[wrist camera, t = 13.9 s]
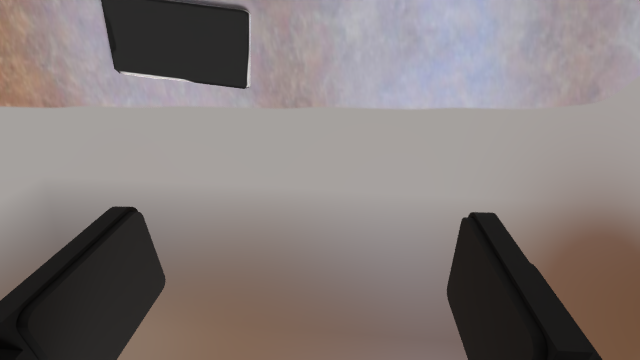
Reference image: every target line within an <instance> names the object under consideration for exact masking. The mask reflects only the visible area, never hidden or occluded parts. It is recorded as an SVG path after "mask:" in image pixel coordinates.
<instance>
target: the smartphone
mask: <svg viewBox="0 0 640 360" xmlns="http://www.w3.org/2000/svg"><path fill="white" fill-rule="evenodd" d="M101 2H102V7H103V12H104V17H105V23H106V28H107V33H108V38H109V43H110V48H111V53H112V59H113V64H114V69H115V70H117V71H118V72H119V73H122V74H126V75H136V76H139V77H147V78H148V77H149V78H155V79H170V80H178V81H186V82H194V83H202V84H210V85H218V86H226V87H234V88H242V89H245V88H248V87H250V33H251V15H250V13H249V12H248V11H246V10H243V9H235V8H227V7H219V6H211V5H203V4H195V3H187V2H179V1H171V0H101Z"/></svg>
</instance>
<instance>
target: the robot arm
mask: <svg viewBox="0 0 640 360" xmlns="http://www.w3.org/2000/svg"><path fill="white" fill-rule="evenodd" d="M164 285H165V275H164V273H163V270H162V267H161V265H160V262H159V259H158V256H157V253H156V251H155V248H154V245H153V242H152V239H151V236H150V234H149V232H148V228H147V225H146V223H145V220H144V217H143V215H142V214H141V213H140V212H138V211H137V209H136V208H134V207H112V208H110V209H109V210H107V211H106V212H105V213H104V214H103V215H101V216H100V217H99V218H98V219H97V220H95V221H94V222H93V223H92V224H91V225H90V226H88V227H87V228H86V229H85V230H84V231H83V232H81V233H80V234H79V235H78V236H77V237H75V238H74V239H73V240H72V241H71V242H69V243H68V244H67V245H66V246H65V247H64V248H62V249H61V250H60V251H59V252H58V253H56V254H55V255H54V256H53V257H52V258H51V259H49V260H48V261H47V262H46V263H44V264H43V265H42V266H41V267H40V268H39V269H38V270H36V271H35V272H34V273H33V274H31V275H30V276H29V277H28V278H27V279H26V280H24V281H23V282H22V283H21V284H20V285H18V286H17V287H16V288H15V289H14V290H13V291H11V292H10V293H9V294H8V295H7V296H5V297H4V298H3V299H2V300H1V301H0V360H117V358H118V357H119V355H120V354H121V352H122V351H123V349H124V348H125V346H126V345H127V343H128V342H129V340H130V339H131V337H132V336H133V334H134V332H135V331H136V329H137V328H138V326H139V325H140V323H141V322H142V320H143V319H144V317H145V316H146V314H147V313H148V311H149V309H150V308H151V307H152V305H153V303H154V302H155V300H156V299H157V298H158V296H159V295H160V293H161V292H162V290H163V288H164ZM447 297H448V301H449V304H450V307H451V310H452V313H453V316H454V319H455V322H456V325H457V328H458V331H459V334H460V337H461V340H462V342H463V346H464V349H465V351H466V355H467V358H468V360H602V358H601V357H600V356H599V354H598V353H597V351H596V350H595V349H594V347H593V346H592V345H591V343H590V342H589V340H588V339H587V338H586V336H585V335H584V333H583V332H582V331H581V329H580V328H579V326H578V325H577V324H576V322H575V321H574V319H573V318H572V317H571V315H570V314H569V312H568V311H567V310H566V308H565V307H564V305H563V304H562V303H561V301H560V300H559V298H558V297H557V296H556V294H555V293H554V292H553V290H552V289H551V287H550V286H549V285H548V283H547V282H546V280H545V279H544V278H543V276H542V275H541V273H540V272H539V271H538V269H537V268H536V267H535V266H534V265H533V264H531V263H530V262H529V261H528V259H527V258H526V257H525V255H524V254H523V252H522V251H521V250H520V248H519V247H518V245H517V244H516V242H515V241H514V240H513V238H512V237H511V235H510V234H509V232H508V231H507V230H506V228H505V227H504V226H503V224H502V223H501V221H500V220H499V218H498V217H497V215H496V214H494V213H478V212H472V213H470V215H469V216H468V218H463V219H462V221H461V225H460V230H459V235H458V239H457V244H456V249H455V253H454V258H453V263H452V267H451V272H450V276H449V281H448V286H447Z"/></svg>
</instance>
